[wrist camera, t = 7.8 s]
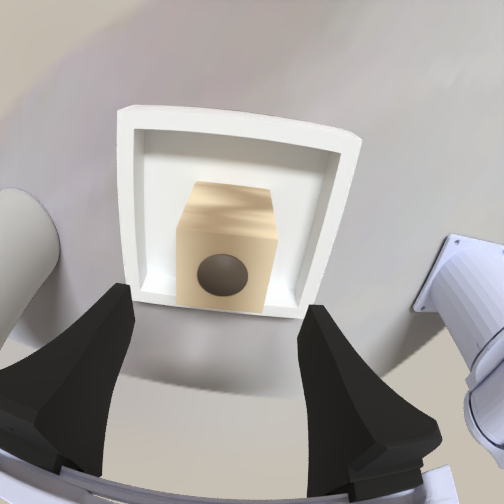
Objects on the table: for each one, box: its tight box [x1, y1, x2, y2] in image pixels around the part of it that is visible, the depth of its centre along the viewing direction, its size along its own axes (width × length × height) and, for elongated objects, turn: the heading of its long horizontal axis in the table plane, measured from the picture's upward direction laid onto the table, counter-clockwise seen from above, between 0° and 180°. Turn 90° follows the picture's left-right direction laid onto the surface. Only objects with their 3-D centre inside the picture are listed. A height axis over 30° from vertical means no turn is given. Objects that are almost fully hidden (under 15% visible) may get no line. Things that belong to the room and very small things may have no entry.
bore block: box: [176, 181, 278, 313], centre depth 17 cm, size 4×4×6 cm
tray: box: [117, 105, 362, 319], centre depth 19 cm, size 13×13×2 cm
